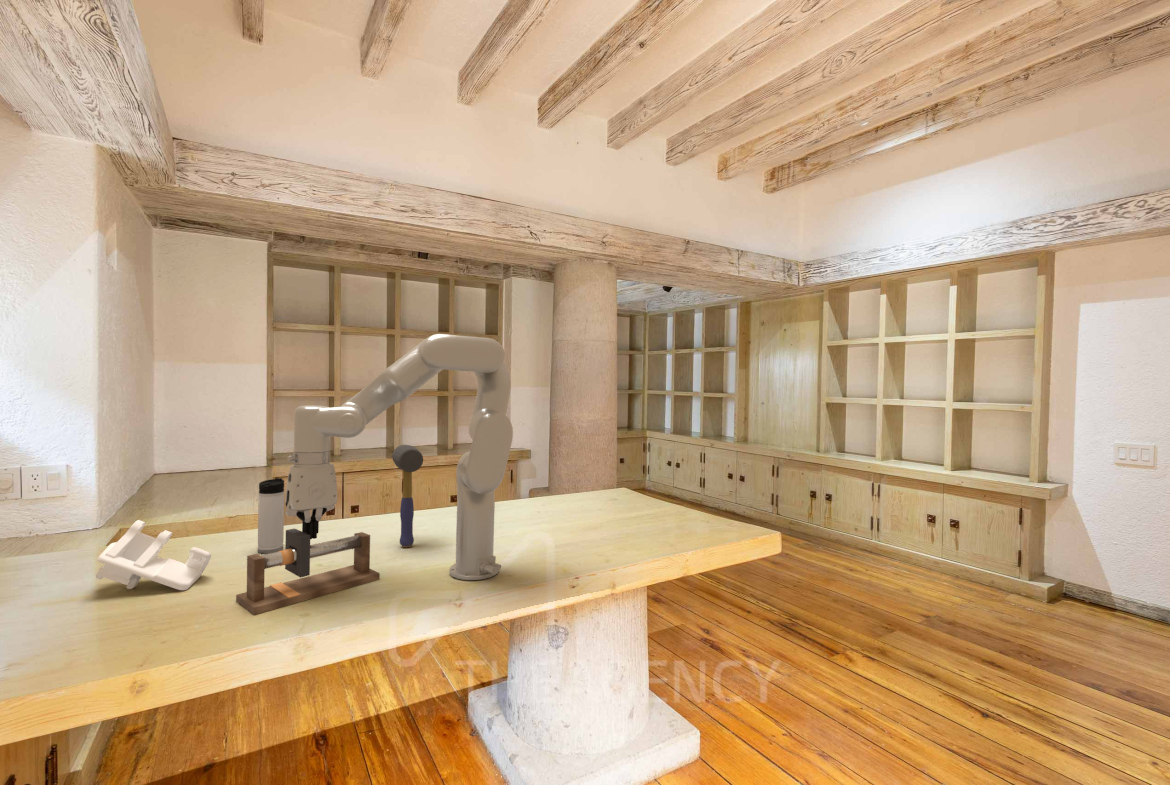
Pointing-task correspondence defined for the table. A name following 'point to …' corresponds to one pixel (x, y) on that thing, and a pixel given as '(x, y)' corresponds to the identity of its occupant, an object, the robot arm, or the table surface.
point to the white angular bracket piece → (149, 561)
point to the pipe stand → (306, 587)
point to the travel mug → (271, 516)
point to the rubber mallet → (407, 488)
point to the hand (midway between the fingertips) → (310, 537)
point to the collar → (299, 552)
